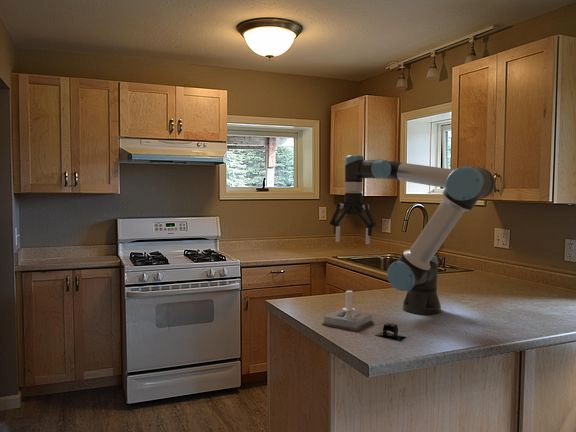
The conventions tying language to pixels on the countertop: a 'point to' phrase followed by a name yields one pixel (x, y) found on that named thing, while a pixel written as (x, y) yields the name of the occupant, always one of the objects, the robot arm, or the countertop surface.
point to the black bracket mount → (389, 335)
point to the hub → (348, 320)
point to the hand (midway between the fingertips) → (352, 242)
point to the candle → (349, 304)
